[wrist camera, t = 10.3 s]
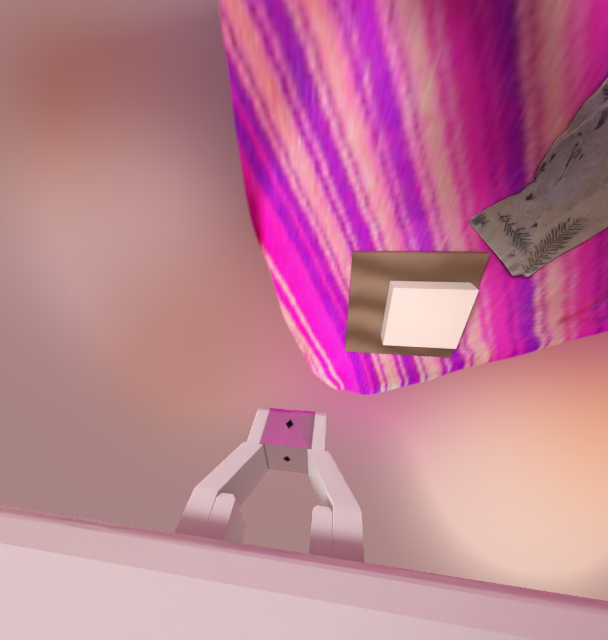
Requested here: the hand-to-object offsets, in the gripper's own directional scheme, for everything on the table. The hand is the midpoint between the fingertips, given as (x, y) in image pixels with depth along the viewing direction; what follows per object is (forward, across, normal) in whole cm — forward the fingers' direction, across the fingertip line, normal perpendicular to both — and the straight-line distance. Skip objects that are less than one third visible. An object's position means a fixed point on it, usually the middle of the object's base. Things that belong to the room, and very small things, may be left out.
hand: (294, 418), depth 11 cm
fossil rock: (+30, -28, -6) cm, 41 cm away
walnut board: (+29, -13, +10) cm, 33 cm away
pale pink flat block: (+26, -10, +10) cm, 30 cm away
